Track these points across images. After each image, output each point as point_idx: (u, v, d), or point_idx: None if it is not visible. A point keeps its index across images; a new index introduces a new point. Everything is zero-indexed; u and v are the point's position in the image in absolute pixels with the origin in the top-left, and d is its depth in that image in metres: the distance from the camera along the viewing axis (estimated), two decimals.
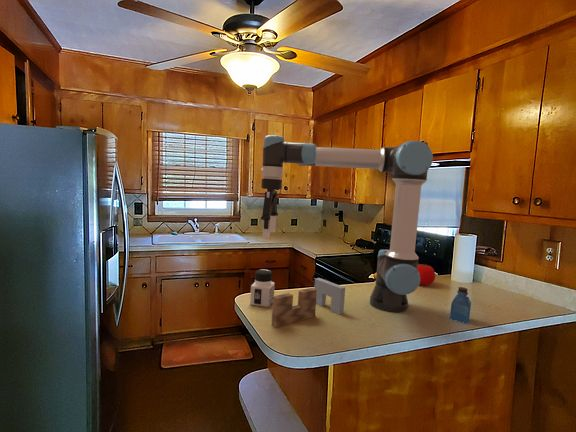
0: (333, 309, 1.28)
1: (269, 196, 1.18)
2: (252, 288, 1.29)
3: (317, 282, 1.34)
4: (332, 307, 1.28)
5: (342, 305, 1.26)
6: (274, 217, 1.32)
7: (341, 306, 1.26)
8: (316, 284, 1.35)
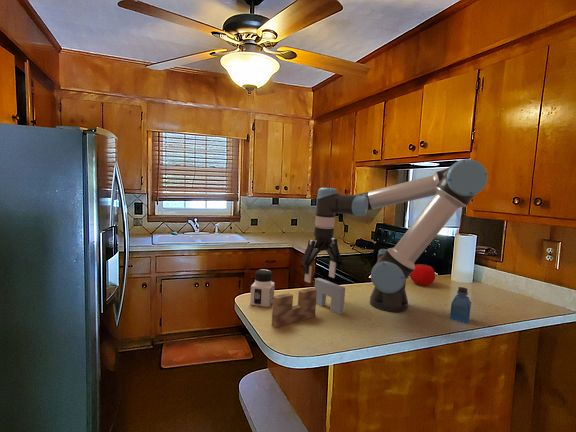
0: (333, 309, 1.28)
1: (311, 244, 1.28)
2: (252, 288, 1.29)
3: (317, 282, 1.34)
4: (332, 307, 1.28)
5: (342, 305, 1.26)
6: (333, 263, 1.37)
7: (341, 306, 1.26)
8: (316, 284, 1.35)
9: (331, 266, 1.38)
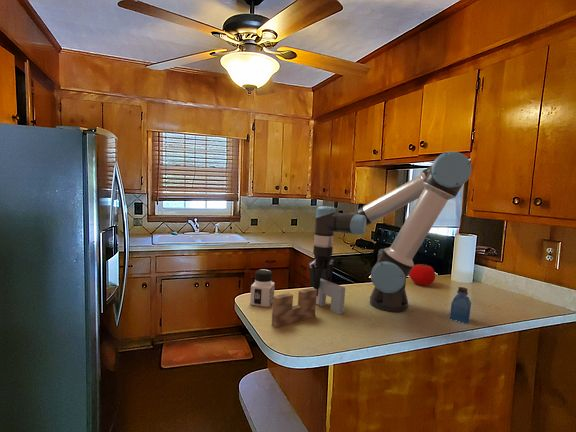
0: (333, 309, 1.28)
1: (311, 268, 1.30)
2: (252, 288, 1.29)
3: None
4: (332, 307, 1.28)
5: (342, 305, 1.26)
6: None
7: (341, 306, 1.26)
8: None
9: None
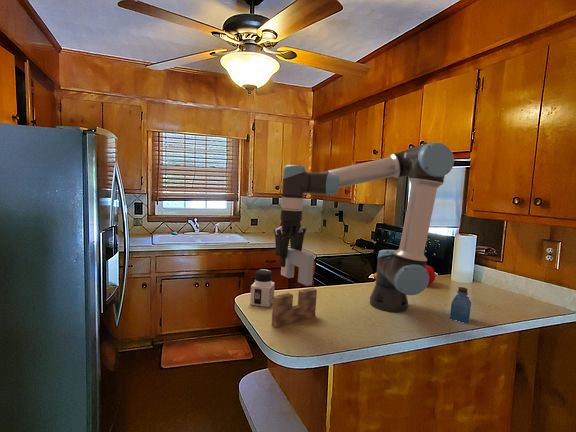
0: (301, 280, 1.13)
1: (277, 234, 1.14)
2: (252, 288, 1.29)
3: None
4: (300, 278, 1.13)
5: (310, 275, 1.11)
6: None
7: (310, 276, 1.11)
8: None
9: None
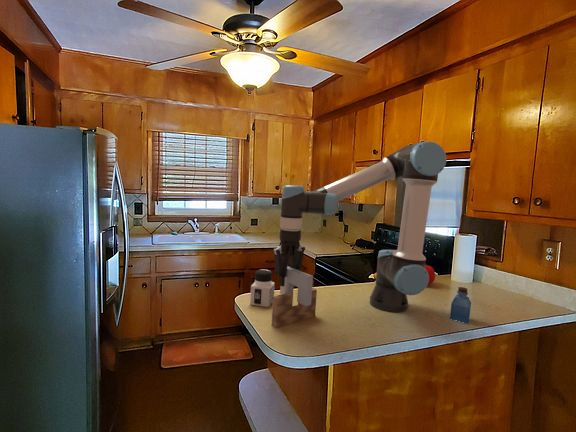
0: (300, 300, 1.13)
1: (276, 254, 1.15)
2: (252, 288, 1.29)
3: None
4: (299, 298, 1.14)
5: (309, 296, 1.12)
6: None
7: (309, 296, 1.12)
8: None
9: None
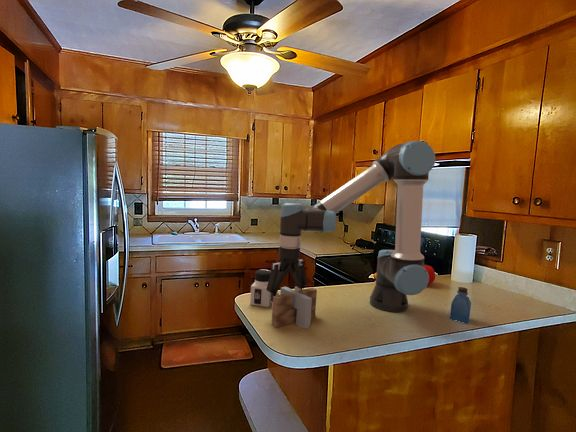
0: (299, 322, 1.14)
1: (274, 269, 1.15)
2: (252, 288, 1.29)
3: (283, 291, 1.21)
4: (298, 320, 1.15)
5: (308, 318, 1.13)
6: (298, 289, 1.23)
7: (308, 318, 1.13)
8: None
9: None
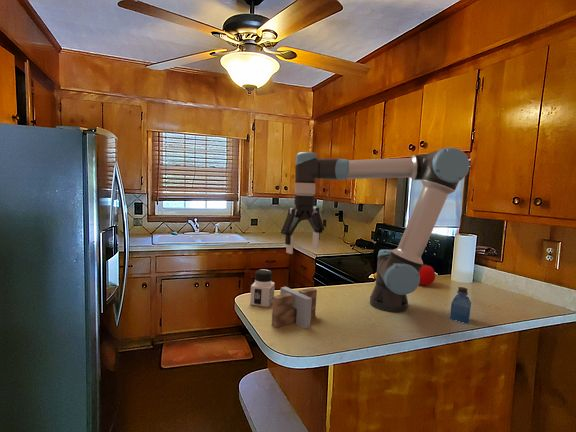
0: (299, 322, 1.14)
1: (291, 212, 1.20)
2: (252, 288, 1.29)
3: (283, 291, 1.21)
4: (298, 320, 1.15)
5: (308, 318, 1.13)
6: (316, 234, 1.30)
7: (308, 318, 1.13)
8: None
9: (314, 237, 1.31)
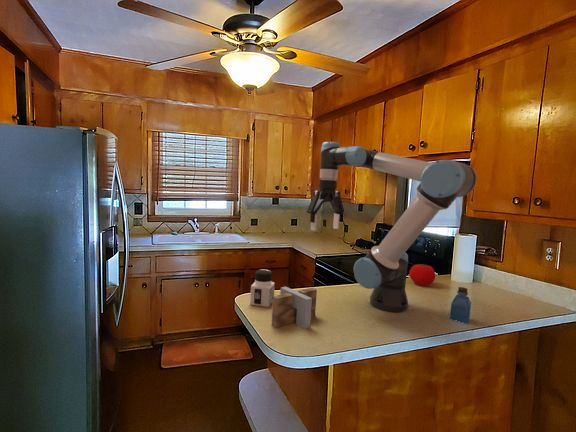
0: (299, 322, 1.14)
1: (316, 194, 1.37)
2: (252, 288, 1.29)
3: (283, 291, 1.21)
4: (298, 320, 1.15)
5: (308, 318, 1.13)
6: (337, 215, 1.47)
7: (308, 318, 1.13)
8: None
9: (335, 218, 1.48)
